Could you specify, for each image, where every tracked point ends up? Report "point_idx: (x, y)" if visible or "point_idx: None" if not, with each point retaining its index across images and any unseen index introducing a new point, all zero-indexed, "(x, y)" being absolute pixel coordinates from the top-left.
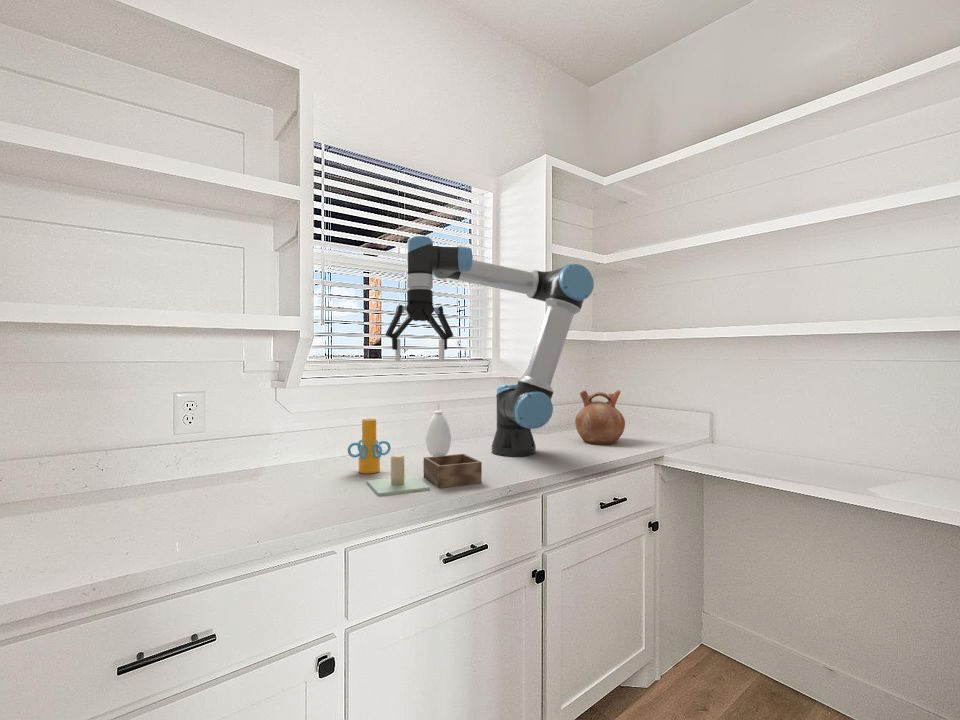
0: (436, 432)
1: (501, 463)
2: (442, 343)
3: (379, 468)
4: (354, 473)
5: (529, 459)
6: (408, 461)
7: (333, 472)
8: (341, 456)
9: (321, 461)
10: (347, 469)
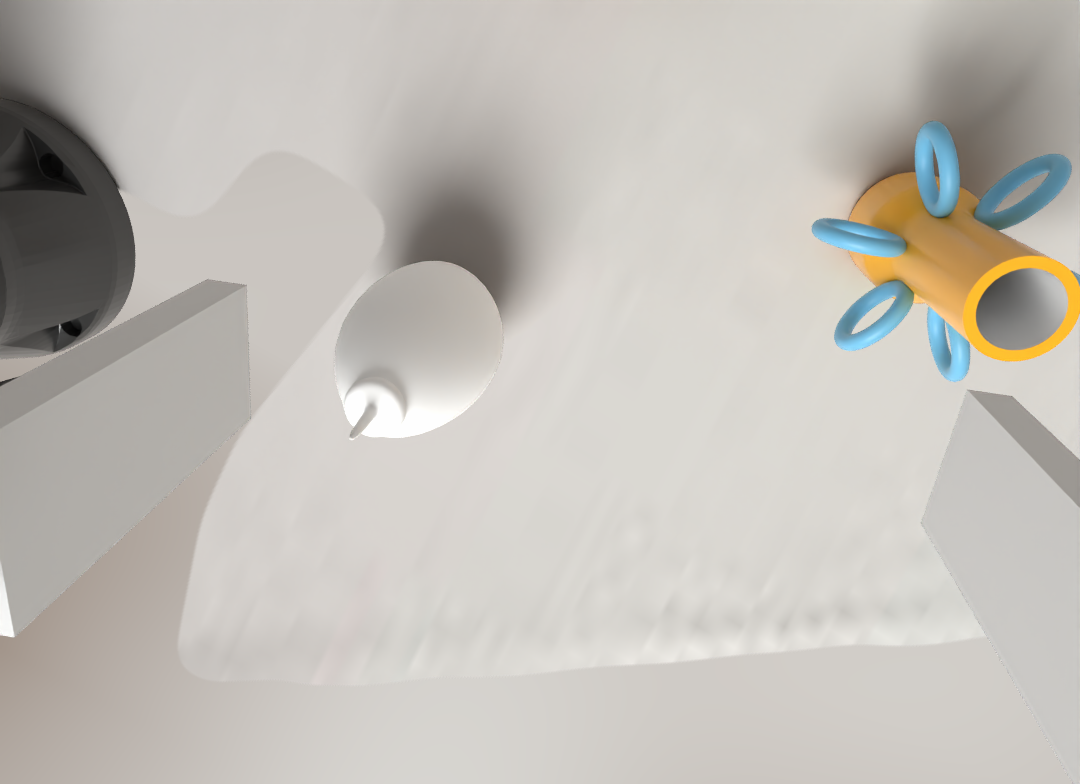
0: (451, 302)
1: (189, 4)
2: (43, 395)
3: (866, 195)
4: None
5: (2, 8)
6: (617, 334)
7: None
8: (852, 613)
9: None
10: None
